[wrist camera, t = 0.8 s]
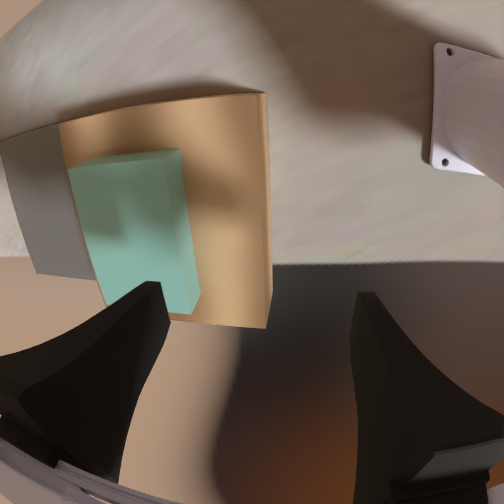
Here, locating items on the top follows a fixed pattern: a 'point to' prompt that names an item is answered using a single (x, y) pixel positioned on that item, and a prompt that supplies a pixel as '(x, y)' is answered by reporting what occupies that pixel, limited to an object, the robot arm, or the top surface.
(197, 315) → the wooden block
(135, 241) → the mint green block
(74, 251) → the mat
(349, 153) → the top surface
